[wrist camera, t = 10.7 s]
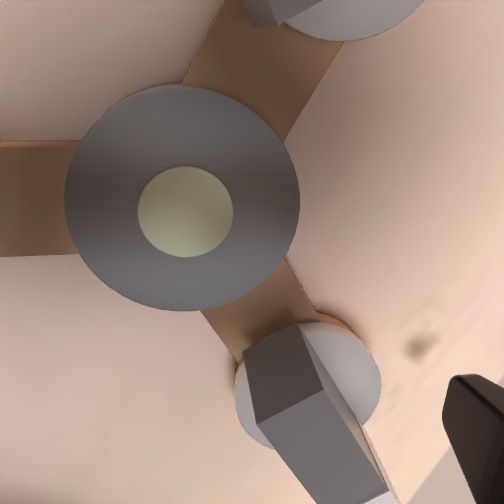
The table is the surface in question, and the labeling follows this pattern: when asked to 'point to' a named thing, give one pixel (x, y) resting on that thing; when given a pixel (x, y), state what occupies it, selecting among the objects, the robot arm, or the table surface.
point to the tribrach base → (184, 185)
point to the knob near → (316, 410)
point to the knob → (331, 16)
